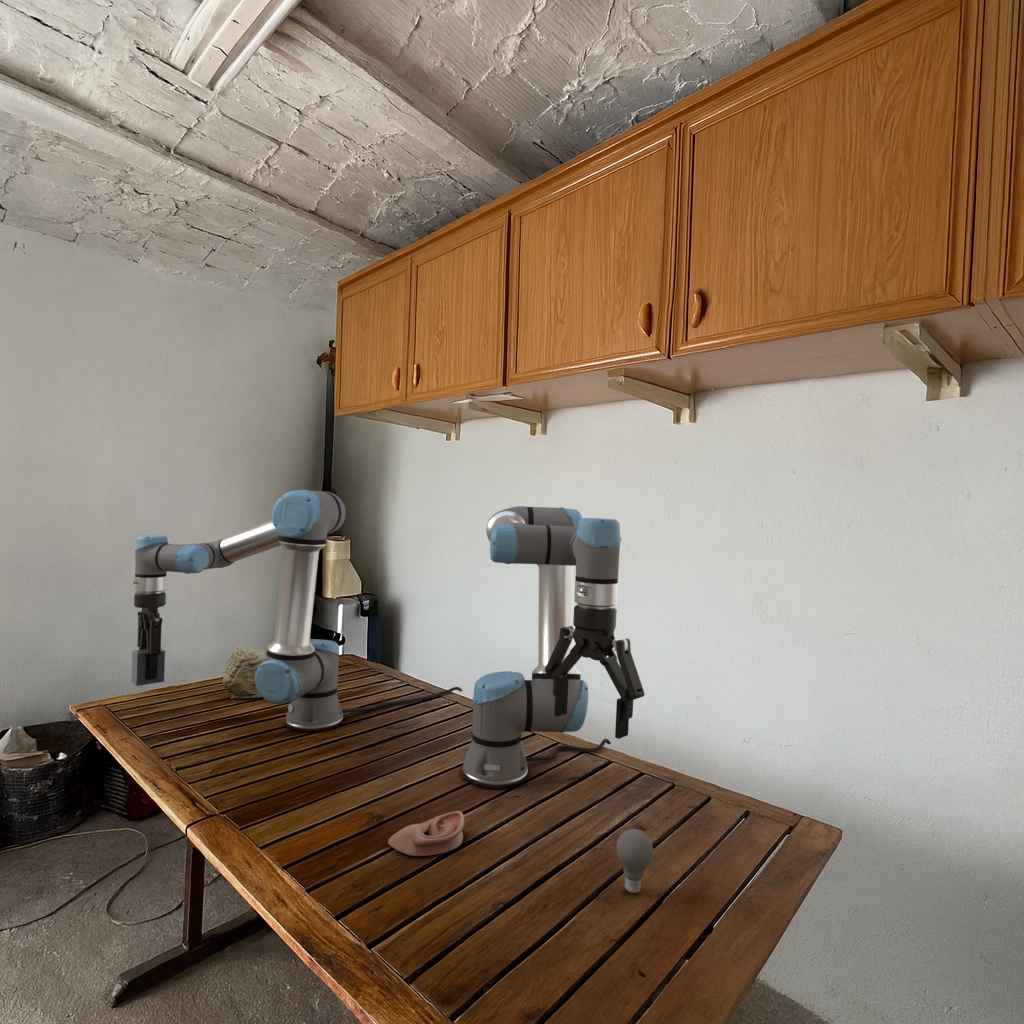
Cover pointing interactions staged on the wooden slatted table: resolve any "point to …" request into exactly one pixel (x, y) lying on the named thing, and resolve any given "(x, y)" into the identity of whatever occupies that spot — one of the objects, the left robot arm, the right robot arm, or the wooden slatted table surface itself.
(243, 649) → the fossil
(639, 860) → the light bulb
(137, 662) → the brick
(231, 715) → the wooden slatted table surface
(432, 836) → the anatomical model
